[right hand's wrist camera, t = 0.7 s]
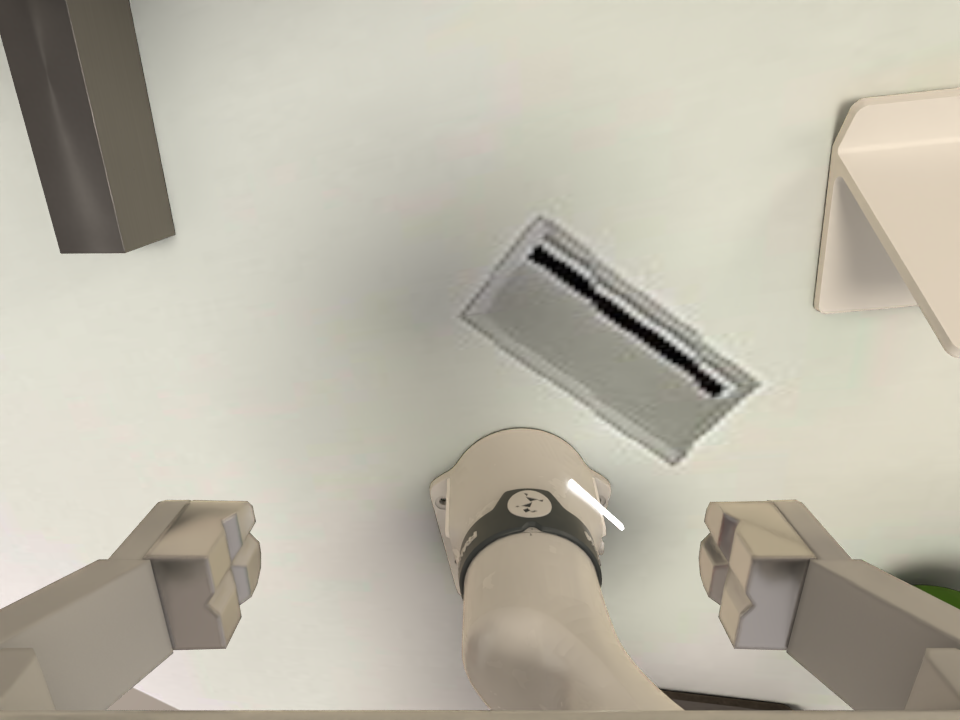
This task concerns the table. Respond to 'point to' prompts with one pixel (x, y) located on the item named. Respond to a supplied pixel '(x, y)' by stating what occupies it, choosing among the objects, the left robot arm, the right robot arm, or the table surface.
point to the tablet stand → (895, 211)
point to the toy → (719, 703)
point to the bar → (88, 121)
